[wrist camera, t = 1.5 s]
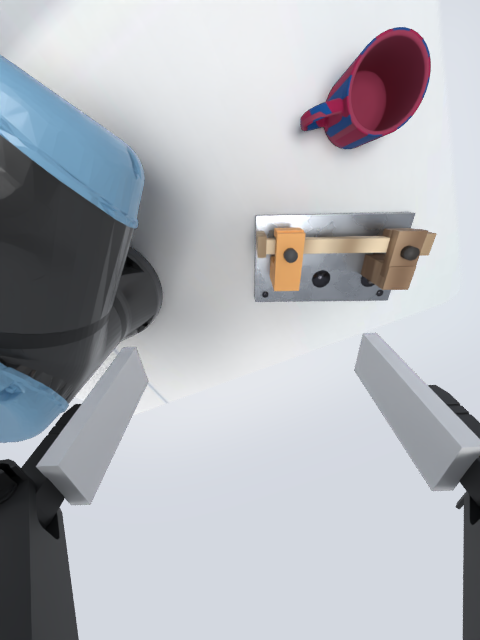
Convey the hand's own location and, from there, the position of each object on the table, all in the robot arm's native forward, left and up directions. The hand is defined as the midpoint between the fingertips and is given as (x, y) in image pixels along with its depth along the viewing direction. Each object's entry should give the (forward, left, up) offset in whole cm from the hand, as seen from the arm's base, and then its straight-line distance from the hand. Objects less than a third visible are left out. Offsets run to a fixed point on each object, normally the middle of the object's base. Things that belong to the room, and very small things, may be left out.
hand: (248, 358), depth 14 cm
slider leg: (+5, +1, -21) cm, 22 cm away
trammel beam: (+11, +1, -21) cm, 24 cm away
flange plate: (+11, 0, -23) cm, 25 cm away
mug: (+10, +16, -23) cm, 30 cm away
